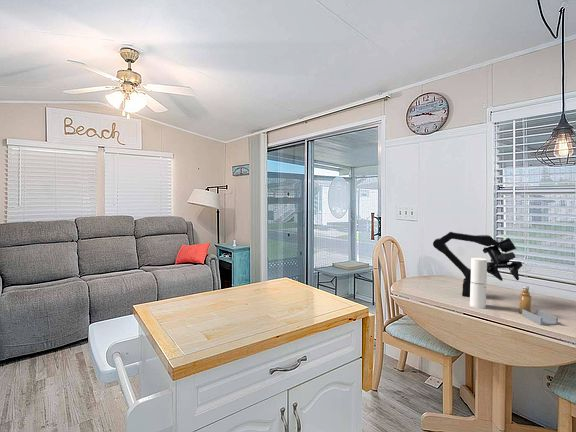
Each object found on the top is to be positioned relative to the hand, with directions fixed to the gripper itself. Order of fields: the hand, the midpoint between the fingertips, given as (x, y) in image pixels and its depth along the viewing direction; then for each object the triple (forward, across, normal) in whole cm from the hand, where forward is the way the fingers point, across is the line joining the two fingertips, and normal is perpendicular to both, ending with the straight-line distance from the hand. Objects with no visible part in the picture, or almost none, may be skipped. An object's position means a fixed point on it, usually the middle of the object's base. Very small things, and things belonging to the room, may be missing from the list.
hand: (510, 280), depth 169 cm
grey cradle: (+24, 0, -4) cm, 24 cm away
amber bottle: (+18, 0, +2) cm, 18 cm away
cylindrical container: (+9, -17, +10) cm, 22 cm away
